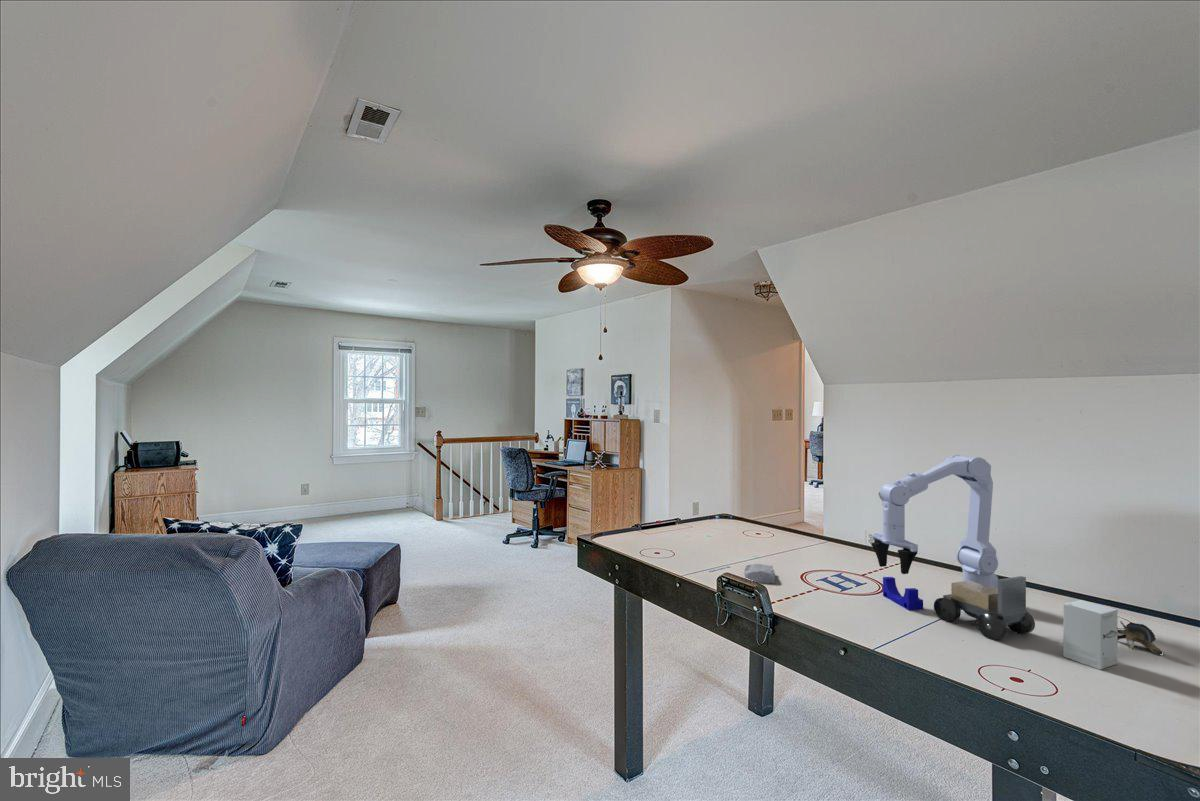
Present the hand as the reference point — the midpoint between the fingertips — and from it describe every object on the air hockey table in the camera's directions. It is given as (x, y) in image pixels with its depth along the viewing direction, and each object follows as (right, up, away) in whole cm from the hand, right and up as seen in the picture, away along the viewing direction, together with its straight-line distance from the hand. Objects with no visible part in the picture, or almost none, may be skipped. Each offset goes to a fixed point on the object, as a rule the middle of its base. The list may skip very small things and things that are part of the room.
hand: (893, 569), depth 160 cm
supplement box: (+26, -10, -36) cm, 46 cm away
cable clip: (+3, -10, 0) cm, 11 cm away
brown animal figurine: (+43, -10, -29) cm, 53 cm away
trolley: (+14, -10, -17) cm, 24 cm away
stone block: (-34, -10, +23) cm, 42 cm away
